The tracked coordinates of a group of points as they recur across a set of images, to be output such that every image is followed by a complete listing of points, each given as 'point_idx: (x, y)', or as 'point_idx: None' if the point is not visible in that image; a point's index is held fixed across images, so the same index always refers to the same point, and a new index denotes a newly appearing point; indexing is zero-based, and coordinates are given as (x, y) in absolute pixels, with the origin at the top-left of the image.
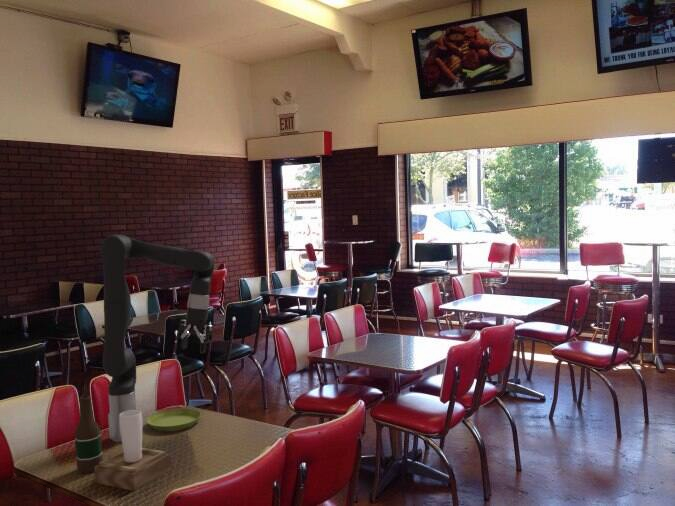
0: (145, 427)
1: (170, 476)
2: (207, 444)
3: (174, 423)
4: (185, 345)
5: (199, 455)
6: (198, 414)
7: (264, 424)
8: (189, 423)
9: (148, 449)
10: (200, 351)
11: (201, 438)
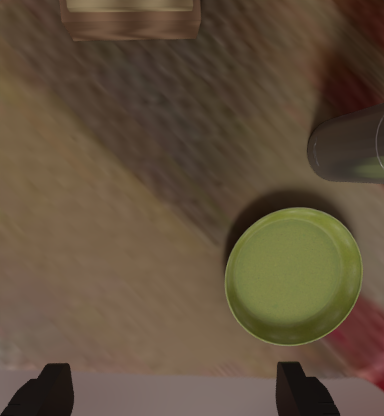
0: None
1: (43, 5)
2: (105, 200)
3: (287, 271)
4: (285, 413)
5: (72, 136)
6: (258, 331)
7: None
8: (227, 265)
9: (128, 2)
10: (49, 371)
11: (149, 225)
